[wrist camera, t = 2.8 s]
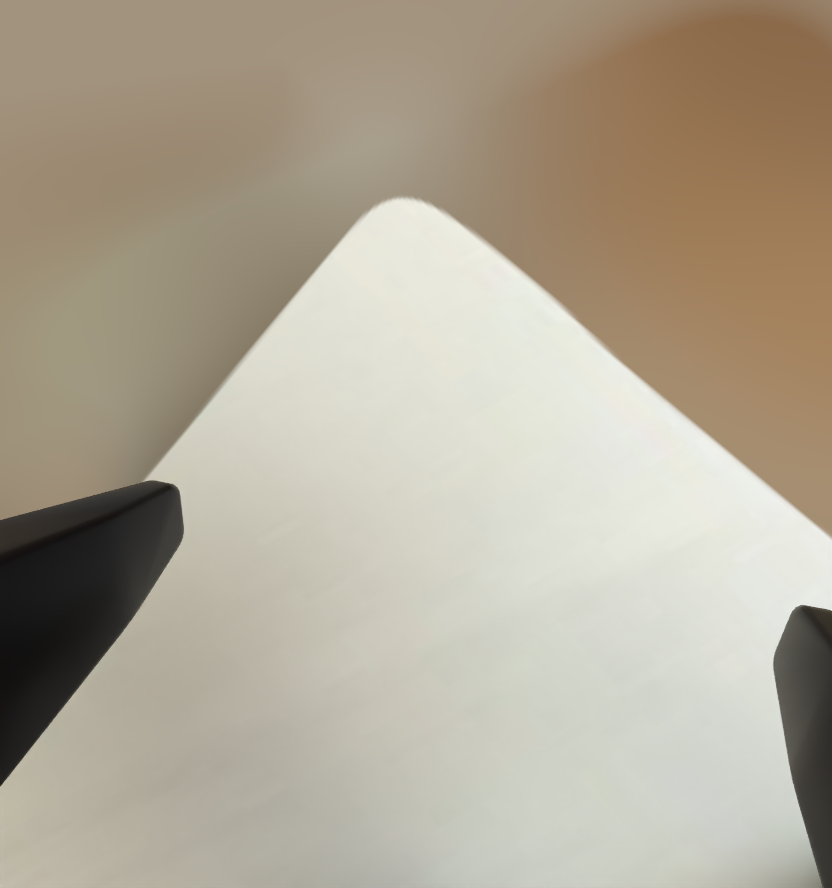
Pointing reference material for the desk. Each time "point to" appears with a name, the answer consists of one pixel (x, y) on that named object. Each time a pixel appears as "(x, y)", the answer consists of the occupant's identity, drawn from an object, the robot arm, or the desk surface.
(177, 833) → the desk surface
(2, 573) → the robot arm
